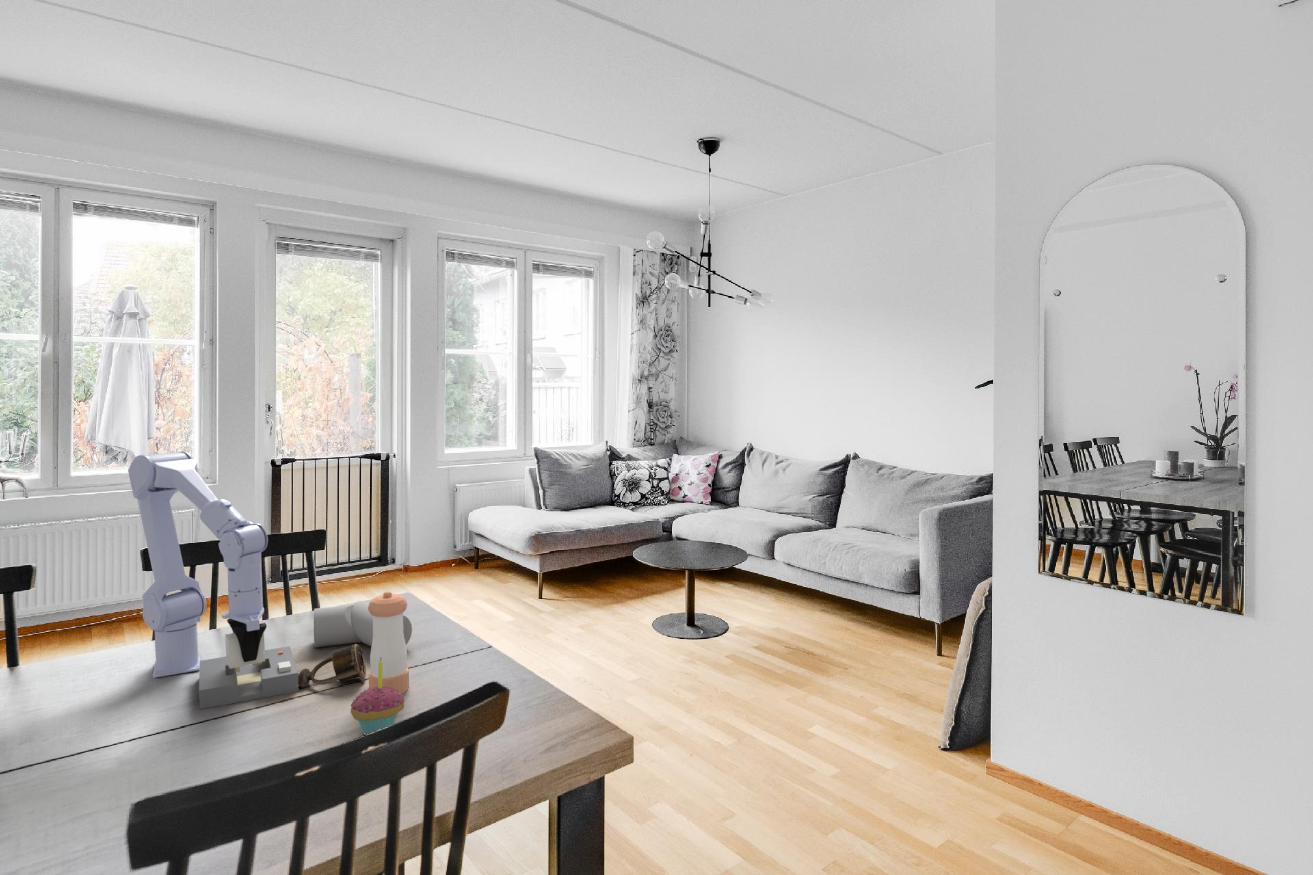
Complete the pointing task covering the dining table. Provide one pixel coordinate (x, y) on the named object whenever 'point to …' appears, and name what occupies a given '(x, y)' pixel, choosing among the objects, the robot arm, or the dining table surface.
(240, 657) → the plug
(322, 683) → the bronze loop with drum
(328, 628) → the bent grey cylinder
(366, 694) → the cupcake
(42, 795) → the dining table surface
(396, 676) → the pepper shaker
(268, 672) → the socket board
